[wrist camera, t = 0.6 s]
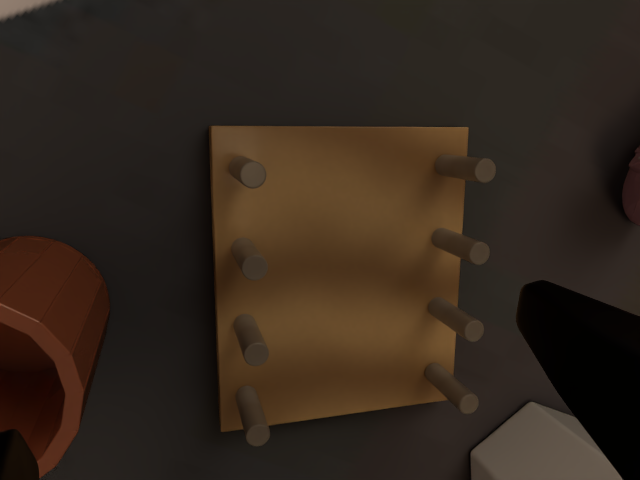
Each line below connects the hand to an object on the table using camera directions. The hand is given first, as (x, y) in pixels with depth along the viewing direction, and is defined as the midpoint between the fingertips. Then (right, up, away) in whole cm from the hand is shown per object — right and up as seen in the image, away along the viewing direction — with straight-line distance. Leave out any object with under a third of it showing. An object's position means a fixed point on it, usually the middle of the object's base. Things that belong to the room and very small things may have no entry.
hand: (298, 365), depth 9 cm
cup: (-12, -1, +13) cm, 18 cm away
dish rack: (+1, +1, +17) cm, 17 cm away
